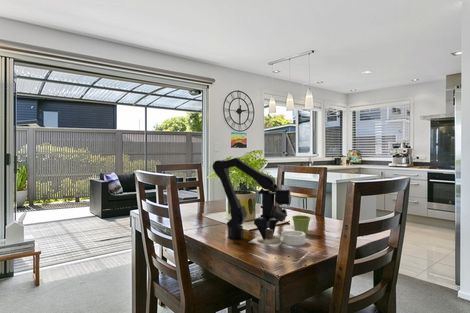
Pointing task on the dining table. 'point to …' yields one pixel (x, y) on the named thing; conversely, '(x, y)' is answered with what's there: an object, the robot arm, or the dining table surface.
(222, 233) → the dining table surface
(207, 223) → the dining table surface
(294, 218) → the plant pot
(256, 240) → the mat
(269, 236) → the lid
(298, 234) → the bowl
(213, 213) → the dining table surface
